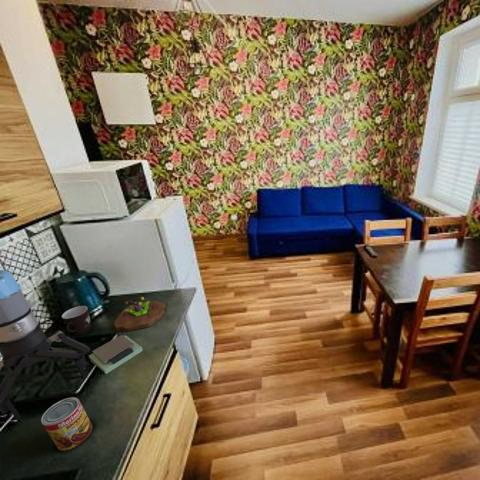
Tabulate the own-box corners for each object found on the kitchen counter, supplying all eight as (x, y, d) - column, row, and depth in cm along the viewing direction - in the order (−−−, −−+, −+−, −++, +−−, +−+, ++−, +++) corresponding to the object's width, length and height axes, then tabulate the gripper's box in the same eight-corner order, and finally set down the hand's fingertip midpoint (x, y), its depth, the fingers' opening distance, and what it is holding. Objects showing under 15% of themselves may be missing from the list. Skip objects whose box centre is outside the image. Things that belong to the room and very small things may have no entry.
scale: (91, 361, 103) (86, 352, 102) (127, 340, 114) (124, 332, 112) (106, 376, 97) (102, 367, 95) (143, 352, 107) (140, 343, 106)
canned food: (82, 450, 75) (66, 422, 70) (51, 455, 74) (32, 427, 69) (99, 422, 82) (85, 395, 77) (70, 426, 81) (55, 399, 76)
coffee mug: (83, 322, 124) (75, 305, 120) (99, 324, 123) (92, 306, 119) (57, 341, 113) (48, 322, 110) (75, 343, 112) (66, 324, 108)
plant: (155, 329, 120) (149, 308, 116) (108, 334, 117) (99, 313, 113) (171, 302, 138) (166, 284, 134) (130, 306, 135) (124, 287, 131)
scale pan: (92, 352, 103) (91, 351, 102) (122, 336, 111) (121, 334, 111) (104, 363, 98) (104, 362, 98) (134, 345, 106) (134, 344, 106)
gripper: (-68, 379, 51) (-13, 447, 59) (87, 308, 71) (112, 367, 79) (-74, 363, 55) (-22, 429, 63) (75, 300, 74) (101, 357, 83)
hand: (53, 394), depth 71 cm, fingers open, 13 cm apart
